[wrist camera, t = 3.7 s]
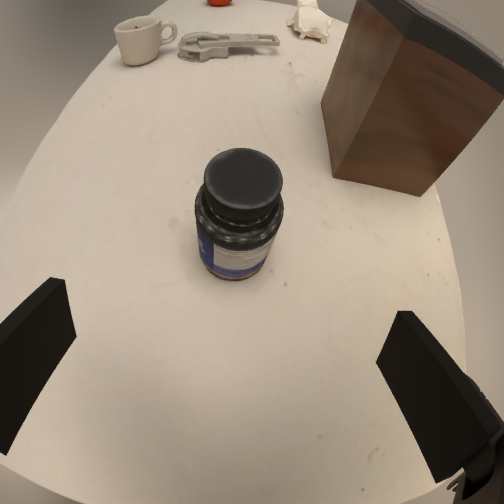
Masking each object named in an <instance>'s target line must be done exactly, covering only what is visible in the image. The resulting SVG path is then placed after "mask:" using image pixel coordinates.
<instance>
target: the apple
mask: <svg viewBox="0 0 504 504" xmlns="http://www.w3.org/2000/svg"><path fill="white" fill-rule="evenodd" d="M207 1H208V2H209V3H211V4H213V5H216V6H221V5H226V4H228V3H230V2H231V1H232V0H207Z"/></svg>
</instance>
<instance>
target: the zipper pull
mask: <svg viewBox="0 0 504 504" xmlns="http://www.w3.org/2000/svg"><path fill="white" fill-rule="evenodd" d="M260 39H267V40H272V41H265V40H260ZM247 45H258V46H279V45H280V40H279V39H278V38H277V36H275V35H264V34H213V33H210V32H193V33H189V34H186V35H184V36H183V37H182V39H181V41H180V43H179V44H178V45H177V46H178V47H179V53H178V57H179V58H181V59H183V60H187V61H192V62H205V61H207V60H209V59H211V58H222V59H227V58H228V52H229V47H228V46H247Z"/></svg>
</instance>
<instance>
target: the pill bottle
mask: <svg viewBox="0 0 504 504" xmlns="http://www.w3.org/2000/svg"><path fill="white" fill-rule="evenodd" d="M282 184H283V178H282V174H281V171H280V169H279V167H278V166H277V164H276V163H275V162H274V161H273V160H272V159H271V158H270V157H268V156H267V155H265V154H263V153H261V152H259V151H256V150H252V149H246V148H234V149H229V150H226V151H224V152H221V153H219V154H217V155H216V156H215V157H214V158H212V160H211V161H210V162H209V163H208V165H207V167H206V169H205V173H204V183H203V185H202V186H201V187H200V189H199V191H198V193H197V196H196V199H195V216H196V225H197V234H198V243H199V251H200V257H201V259H202V261H203V263H204V264H205V265H206V267H207V269H208V270H209V271H210V272H211V273H212V274H213V275H215V276H216V277H219V278H220V279H224V280H230V281H239V280H244V279H247V278H249V277H251V276H252V275H254V274H255V273H257V272H258V271H259V270H260V268H261V267H262V265H263V264H264V261H265V259H266V257H267V255H268V252H269V250H270V248H271V245H272V243H273V240H274V238H275V236H276V233H277V231H278V229H279V226H280V224H281V221H282V218H283V211H284V207H283V200H282V197H281V194H280V192H281V189H282Z"/></svg>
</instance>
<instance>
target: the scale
mask: <svg viewBox="0 0 504 504" xmlns="http://www.w3.org/2000/svg"><path fill="white" fill-rule="evenodd" d="M367 1H368V2H369V3H370V4H371V5H373V6H374V7H375V8H376V9H377V10H378V11H379V12H380V13H381V14H382V15H384V16H385V17H386V18H387V19H388V20H389V21H390V22H391V23H392V24H393V25H394V26H395V27H396V28H397V29H398V30H399V31H400V32H401V33H402V34H403V35H404V36H405V37H407V38H409V39H411V40H413V41H415V42H418V43H420V44H422V45H424V46H426V47H428V48H430V49H432V50H434V51H436V52H437V53H439V54H441V55H443V56H445V57H447V58H448V59H450V60H452V61H454V62H455V63H457V64H459V65H460V66H462V67H464V68H465V69H467V70H468V71H470V72H471V73H473V74H475V75H476V76H478V77H479V78H481V79H482V80H483V81H485V82H486V83H488V84H489V85H491V86H492V87H493V88H495V89H496V90H497V91H499V92H500V93H501V94H503V95H504V67H503V65H502V62H503V59H502V58H501V57H500V56H499V55H498V54H497V53H496V52H494V50H493V49H491V48H490V47H489V46H488V45H487V44H486V43H485V42H484V41H483V40H481V39H480V38H479V37H478V36H477V35H475V34H474V33H473V32H472V31H471V30H469V29H468V28H467V27H466V26H464V25H463V24H462V23H460V22H459V21H458V20H457V19H455V18H454V17H452V16H451V15H450V14H448V13H447V12H445V11H444V10H442V9H440V8H439V7H437V6H435V5H433V4H432V3H429V2H428V1H426V0H367Z"/></svg>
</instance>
